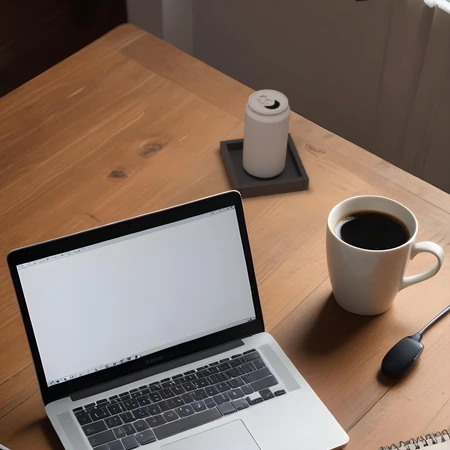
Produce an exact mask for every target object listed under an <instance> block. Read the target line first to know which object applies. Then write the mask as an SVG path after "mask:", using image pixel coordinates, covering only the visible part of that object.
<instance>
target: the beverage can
mask: <svg viewBox="0 0 450 450" xmlns="http://www.w3.org/2000/svg"><path fill="white" fill-rule="evenodd" d="M290 116H291V107H290V104H289V100H288V97H287V96H286V95H285V94H284V93H282V92H280V91H278V90H275V89H259V90H256V91H254V92H253V93H251V94H250V95H249V97H248V100H247V102H246V104H245V107H244V123H243V124H244V126H243V138H244V144H243V167H244V169H245V170H246V171H247V172H248V173H249V174H251V175H253V176H255V177H258V178H272V177H274V176H276V175H278V174H280V173H281V172H282V171H283V169H284V167H285V159H286V149H287V138H288V133H289V126H290Z"/></svg>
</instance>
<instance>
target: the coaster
mask: <svg viewBox="0 0 450 450" xmlns="http://www.w3.org/2000/svg"><path fill="white" fill-rule="evenodd" d="M243 144H244V137H243V138H235V139H234V138H233V139H226V140H219V154H220V157H221V160H222V163H223V166H224V169H225V172H226V175H227V179H228V182H229V185H230V188H231V191H232V190H237V191H239V192H240V194H241V197H242V199H249V198H257V197H265V196H272V195H281V194H286V193H295V192H302V191H308V190H309V183H310V177H309V175H308V173H307V171H306V168H305V165H304V163H303V161H302V159H301V156H300V154H299V152H298V148H297V146H296V144H295V142H294V139H293V137H292V135H291V133H290V132H288V138H287V149H286V159H285V167H284V169H283V171H282V172H281V173H280V174H278V175H276V176H274V177H272V178H258V177H255V176H253V175H251V174H249V173H248V172H247V171H246V170H245V169H244V167H243Z"/></svg>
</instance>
